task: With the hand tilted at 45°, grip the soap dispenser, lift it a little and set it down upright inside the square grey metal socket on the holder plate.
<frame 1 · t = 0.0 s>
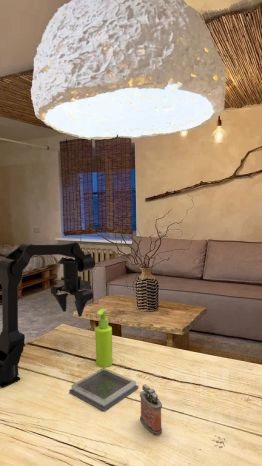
hand: (72, 314, 132), 15 cm above the table, tool pointing down, fingers open, 9 cm apart
holder: (104, 390, 106), on the table
lighter: (150, 426, 89), on the table
soap dispenser: (103, 364, 123), on the table
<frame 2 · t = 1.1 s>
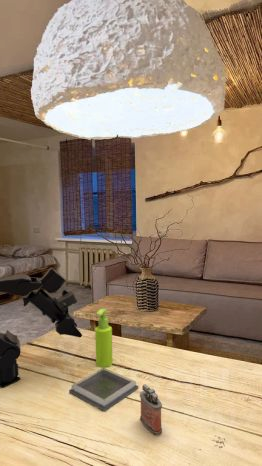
hand: (78, 331, 119), 13 cm above the table, tool tilted 45°, fingers open, 9 cm apart
nothing on the table moved.
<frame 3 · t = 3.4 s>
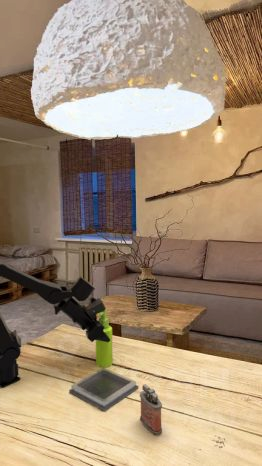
hand: (107, 337, 122), 10 cm above the table, tool tilted 45°, fingers open, 6 cm apart
soap dispenser: (103, 364, 123), on the table, touching gripper
everything else where it was.
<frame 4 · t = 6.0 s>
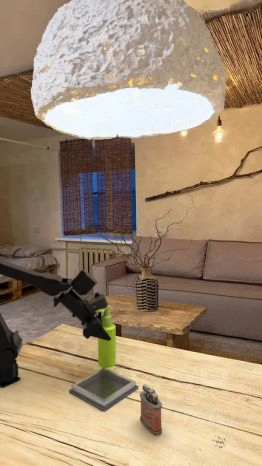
hand: (110, 336, 115), 13 cm above the table, tool tilted 45°, fingers closed on soap dispenser, 6 cm apart
soap dispenser: (106, 364, 115), point 3 cm above the table, touching gripper
everything else where it was.
when the fingers open (11 cm above the table, at t = 8.2 s): soap dispenser stays where it is, resting on holder.
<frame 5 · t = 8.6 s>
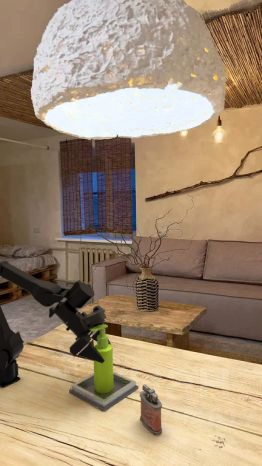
hand: (107, 354, 104), 12 cm above the table, tool tilted 45°, fingers open, 9 cm apart
soap dispenser: (102, 389, 106), point 1 cm above the table, touching holder
everything else where it was.
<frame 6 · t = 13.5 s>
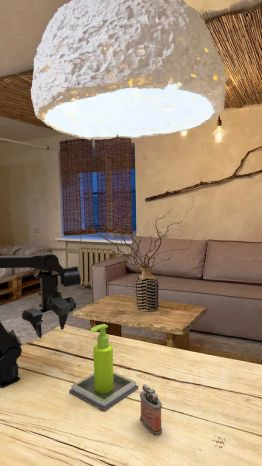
hand: (51, 333, 118), 13 cm above the table, tool pointing down, fingers open, 9 cm apart
nothing on the table moved.
at the end: soap dispenser 0.4 cm off-centre on the holder, point 0.6 cm above the holder's base; soap dispenser tilted 0°; the gripper is holding nothing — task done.
